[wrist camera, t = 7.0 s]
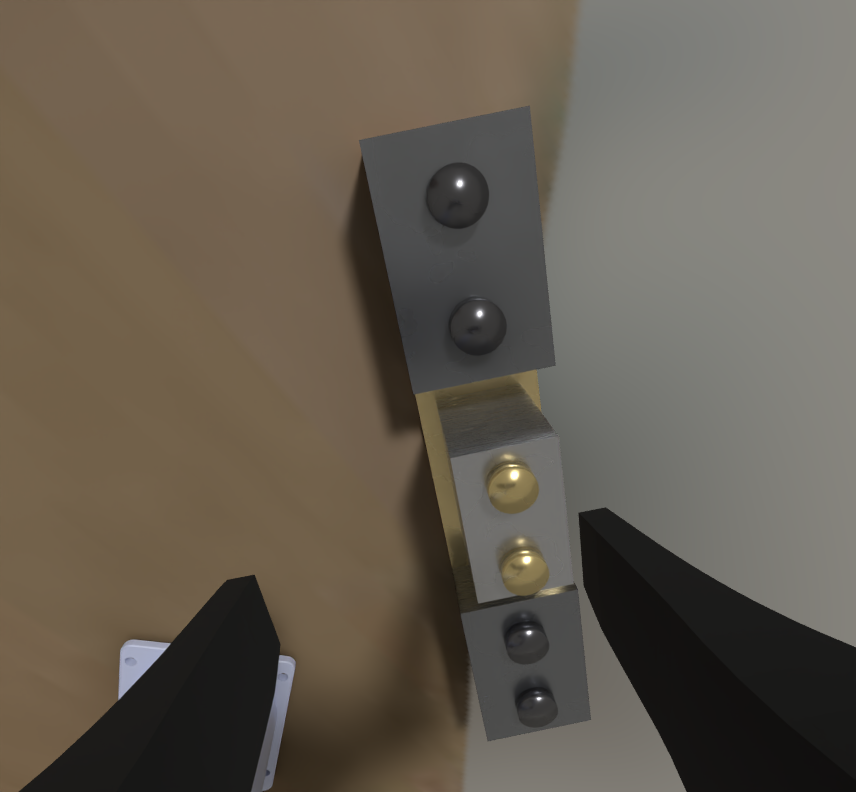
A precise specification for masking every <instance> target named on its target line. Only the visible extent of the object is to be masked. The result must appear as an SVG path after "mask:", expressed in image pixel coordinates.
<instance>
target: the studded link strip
mask: <svg viewBox="0 0 856 792" xmlns="http://www.w3.org/2000/svg"><path fill="white" fill-rule="evenodd" d="M359 142H360V147H361V152H362V156H363V161H364V166H365V170H366V175H367V180H368V184H369V189H370V194H371V198H372V203H373V208H374V212H375V217H376V222H377V226H378V231H379V236H380V240H381V245H382V250H383V254H384V259H385V264H386V269H387V273H388V278H389V283H390V287H391V292H392V297H393V301H394V306H395V311H396V315H397V320H398V325H399V329H400V334H401V339H402V343H403V348H404V353H405V357H406V362H407V367H408V371H409V376H410V381H411V385H412V390H413V395H414V394H415V396H416V401H417V406H418V410H419V415H420V420H421V424H422V429H423V434H424V438H425V443H426V448H427V453H428V457H429V462H430V467H431V471H432V476H433V481H434V485H435V490H436V495H437V500H438V504H439V509H440V514H441V518H442V523H443V528H444V532H445V537H446V542H447V547H448V551H449V556H450V561H451V565H452V570H453V576H454V581H455V587H456V592H457V598H458V603H459V609H460V614H461V619H462V624H463V628H464V633H465V638H466V642H467V647H468V652H469V656H470V661H471V666H472V670H473V675H474V680H475V684H476V689H477V693H478V698H479V703H480V707H481V712H482V717H483V722H484V726H485V731H486V736H487V740H488V741H491V740H496V739H501V738H506V737H511V736H516V735H520V734H525V733H530V732H534V731H540V730H544V729H549V728H554V727H559V726H564V725H568V724H573V723H578V722H583V721H587V720H591V717H590V706H589V696H588V686H587V677H586V667H585V656H584V646H583V636H582V626H581V616H580V606H579V597H578V589H577V587H576V585H575V583H574V584H571V585H566V586H561V587H556V588H551V589H546V590H542V591H538V592H536V593H534V594H531V595H526V596H521V595H517V596H512V597H507V598H503V599H498V600H493V601H488V602H483V603H478V600H477V596H476V592H475V587H474V583H473V579H472V574H471V570H470V566H469V561H468V557H467V553H466V548H465V544H464V540H463V535H462V531H461V527H460V522H459V517H458V512H457V507H456V502H455V497H454V492H453V487H452V481H451V476H450V471H449V466H448V461H447V456H446V451H445V446H444V440H443V435H442V430H441V425H440V420H439V415H438V410H437V405H436V400H439V399H444V398H449V397H454V396H459V395H464V394H469V393H474V392H479V391H484V390H488V389H493V388H498V387H503V386H508V385H513V384H518V383H520V384H521V385H522V387H523V388H524V389H525V391H526V392H527V393H528V395H529V396H530V397H531V399H532V400H533V402H534V403H535V404H536V406H537V407H538V408H539V410H540V411H541V404H540V397H539V387H538V378H537V370H536V369H541V368H546V367H551V366H555V355H554V345H553V336H552V325H551V315H550V305H549V295H548V285H547V275H546V265H545V255H544V245H543V235H542V225H541V215H540V205H539V195H538V185H537V175H536V165H535V155H534V145H533V135H532V125H531V115H530V106H526V107H521V108H516V109H511V110H506V111H501V112H496V113H491V114H486V115H481V116H476V117H471V118H467V119H462V120H457V121H452V122H447V123H442V124H437V125H432V126H427V127H422V128H417V129H412V130H407V131H402V132H397V133H392V134H387V135H382V136H377V137H373V138H368V139H363V140H359ZM573 582H574V581H573Z"/></svg>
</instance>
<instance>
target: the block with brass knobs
mask: <svg viewBox="0 0 856 792" xmlns="http://www.w3.org/2000/svg"><path fill="white" fill-rule="evenodd" d="M436 405H437V410H438V415H439V420H440V425H441V430H442V435H443V440H444V446H445V451H446V456H447V461H448V466H449V471H450V476H451V481H452V487H453V492H454V497H455V502H456V507H457V512H458V517H459V522H460V527H461V531H462V535H463V540H464V544H465V548H466V553H467V557H468V561H469V566H470V570H471V574H472V579H473V583H474V587H475V592H476V596H477V600H478V603H483V602H488V601H493V600H498V599H503V598H507V597H512V596H517V595H521V596H526V595H531V594H534V593H536V592H538V591H542V590H546V589H551V588H556V587H561V586H566V585H571V584H574V582H573V573H572V563H571V553H570V543H569V532H568V523H567V512H566V503H565V492H564V482H563V472H562V463H561V453H560V442H559V436H558V434H557V433H556V432H555V430H554V429H553V428H552V426H551V425H550V424H549V422H548V421H547V419H546V418H545V417H544V415H543V414H542V412H541V411H540V410H539V408H538V407H537V406H536V404H535V403H534V402H533V400H532V399H531V397H530V396H529V395H528V393H527V392H526V391H525V389H524V388H523V387H522V385H521V384H520V383H518V384H513V385H508V386H503V387H498V388H493V389H488V390H484V391H479V392H474V393H469V394H464V395H459V396H454V397H449V398H444V399H439V400H436Z"/></svg>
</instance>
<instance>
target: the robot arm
mask: <svg viewBox="0 0 856 792" xmlns="http://www.w3.org/2000/svg"><path fill="white" fill-rule="evenodd" d="M579 526H580V540H581V555H582V567H583V582H584V588H585V590H586V593H587V595H588V598H589V600H590V603H591V605H592V608H593V610H594V612H595V615H596V617H597V620H598V622H599V624H600V627H601V629H602V631H603V633H604V635H605V636H606V638H607V640H608V642H609V644H610V646H611V647H612V649H613V651H614V653H615V655H616V657H617V658H618V660H619V662H620V664H621V666H622V667H623V669H624V671H625V673H626V675H627V676H628V678H629V680H630V682H631V684H632V685H633V687H634V689H635V691H636V692H637V694H638V696H639V698H640V700H641V702H642V703H643V705H644V707H645V709H646V710H647V712H648V714H649V716H650V718H651V719H652V721H653V723H654V725H655V726H656V729H657V730H658V732H659V734H660V736H661V738H662V740H663V742H664V744H665V746H666V748H667V750H668V752H669V754H670V756H671V758H672V760H673V762H674V765H675V767H676V769H677V771H678V774H679V776H680V778H681V780H682V783H683V785H684V787H685V789H686V791H687V792H856V647H854V646H851V645H849V644H846V643H844V642H842V641H839V640H837V639H834V638H832V637H830V636H828V635H825V634H823V633H820V632H818V631H816V630H814V629H811V628H809V627H807V626H805V625H802V624H800V623H798V622H796V621H794V620H792V619H789V618H787V617H786V616H784V615H782V614H779V613H777V612H775V611H773V610H771V609H769V608H767V607H765V606H763V605H761V604H759V603H757V602H755V601H753V600H751V599H749V598H748V597H746V596H744V595H742V594H740V593H738V592H736V591H735V590H733V589H731V588H729V587H727V586H726V585H724V584H722V583H720V582H719V581H717V580H715V579H714V578H712V577H710V576H709V575H707V574H705V573H703V572H702V571H700V570H698V569H697V568H695V567H693V566H692V565H690V564H689V563H687V562H686V561H684V560H682V559H681V558H679V557H678V556H676V555H674V554H673V553H672V552H670V551H668V550H667V549H665V548H664V547H662V546H661V545H659V544H658V543H656V542H655V541H653V540H652V539H651V538H649V537H648V536H646V535H645V534H643V533H642V532H640V531H639V530H637V529H636V528H635V527H633V526H632V525H630V524H629V523H627V522H626V521H625V520H623V519H622V518H620V517H619V516H617V515H616V514H614V513H613V512H611V511H610V510H609V509H607V508H601V509H596V510H591V511H585V512H580V513H579ZM279 653H280V642H279V639H278V636H277V634H276V631H275V628H274V626H273V623H272V620H271V618H270V615H269V612H268V610H267V607H266V604H265V602H264V599H263V596H262V593H261V591H260V588H259V585H258V583H257V580H256V577H255V575H251V576H245V577H240V578H235V579H230V580H227V581H226V582H225V583H224V584H223V585H222V586H221V587H220V588H219V589H218V590H217V591H216V592H215V594H214V595H213V596H212V597H211V598H210V599H209V600H208V602H207V603H206V604H205V605H204V606H203V607H202V609H201V610H200V611H199V612H198V613H197V614H196V615H195V617H194V618H193V619H192V620H191V621H190V622H189V624H188V625H187V626H186V627H185V628H184V629H183V630H182V632H181V633H180V634H179V635H178V636H177V637H176V638H175V640H174V641H173V642H172V643H163V642H154V641H144V640H129V641H126V642H125V643H124V645H123V646H122V648H121V651H120V670H119V696H118V701H117V702H116V703H115V704H114V705H113V706H112V707H111V708H110V709H109V710H108V711H107V712H106V713H105V714H104V715H103V716H102V717H101V718H100V719H99V720H98V721H97V722H96V723H95V724H94V725H93V726H92V727H91V728H90V729H89V730H88V731H87V732H86V733H85V734H84V735H82V736H81V737H80V738H79V739H78V740H77V741H76V742H75V743H74V744H73V745H72V746H71V747H70V748H68V749H67V750H66V751H65V752H64V753H63V754H62V755H61V756H60V757H59V758H58V759H56V760H55V761H54V762H53V763H52V764H51V765H50V766H49V767H47V768H46V769H45V770H44V771H43V772H42V773H40V774H39V775H38V776H37V777H36V778H34V779H33V780H32V781H31V782H30V783H28V784H27V785H26V786H25V787H24V788H23V789H21V790H20V791H19V792H262V791H266V790H268V789H270V788H271V787H272V785H273V779H274V774H275V769H276V764H277V759H278V754H279V748H280V743H281V738H282V733H283V728H284V723H285V717H286V712H287V707H288V702H289V697H290V692H291V686H292V681H293V676H294V671H295V666H296V662H295V660H294V659H293V658H292V657H289V656H283V655H279ZM133 658H134V659H133ZM281 673H285V674H281Z"/></svg>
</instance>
